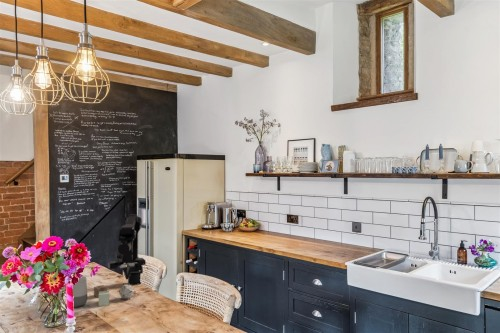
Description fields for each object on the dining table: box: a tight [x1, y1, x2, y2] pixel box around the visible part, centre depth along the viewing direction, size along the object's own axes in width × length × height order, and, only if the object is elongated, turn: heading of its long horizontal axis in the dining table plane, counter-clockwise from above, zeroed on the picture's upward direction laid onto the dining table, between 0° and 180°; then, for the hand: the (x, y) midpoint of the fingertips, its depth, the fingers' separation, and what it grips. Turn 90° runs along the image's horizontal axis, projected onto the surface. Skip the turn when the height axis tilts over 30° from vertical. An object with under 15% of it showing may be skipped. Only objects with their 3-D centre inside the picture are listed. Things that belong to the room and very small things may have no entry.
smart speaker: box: [73, 275, 88, 308], centre depth 196 cm, size 10×9×14 cm
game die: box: [118, 283, 135, 301], centre depth 207 cm, size 9×8×10 cm
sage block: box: [98, 290, 110, 307], centre depth 199 cm, size 5×5×6 cm
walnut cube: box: [93, 284, 108, 299], centre depth 211 cm, size 5×5×5 cm
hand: (126, 279), depth 207 cm, fingers closed
